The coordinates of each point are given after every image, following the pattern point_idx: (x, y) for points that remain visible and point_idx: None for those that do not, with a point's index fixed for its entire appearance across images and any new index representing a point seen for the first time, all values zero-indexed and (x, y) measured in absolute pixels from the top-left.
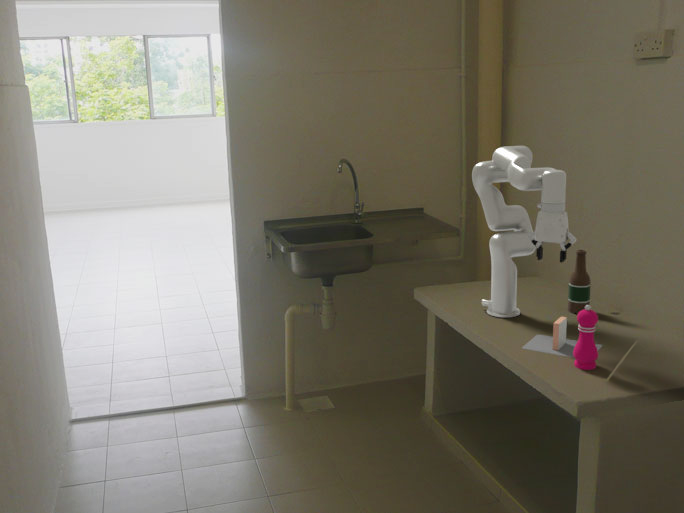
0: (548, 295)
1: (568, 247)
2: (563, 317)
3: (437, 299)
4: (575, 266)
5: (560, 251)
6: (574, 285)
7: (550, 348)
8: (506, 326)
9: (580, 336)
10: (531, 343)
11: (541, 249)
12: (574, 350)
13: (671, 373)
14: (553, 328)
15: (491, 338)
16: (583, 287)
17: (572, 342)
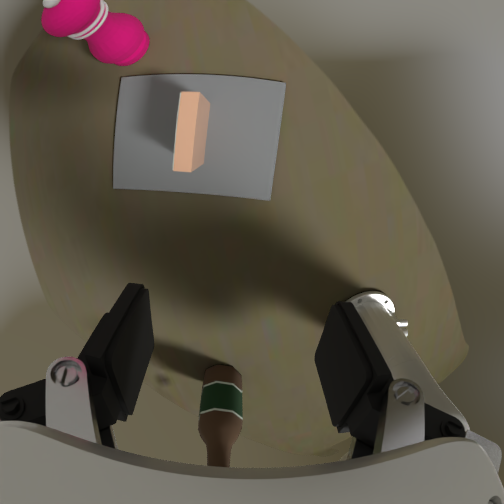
0: (288, 417)
1: (28, 386)
2: (181, 164)
3: (455, 331)
4: (229, 452)
5: (108, 356)
6: (226, 411)
7: (216, 107)
8: (350, 241)
9: (109, 12)
10: (269, 124)
11: (346, 396)
12: (136, 20)
13: (15, 117)
14: (202, 95)
15: (368, 143)
16: (207, 409)
17: (175, 173)
